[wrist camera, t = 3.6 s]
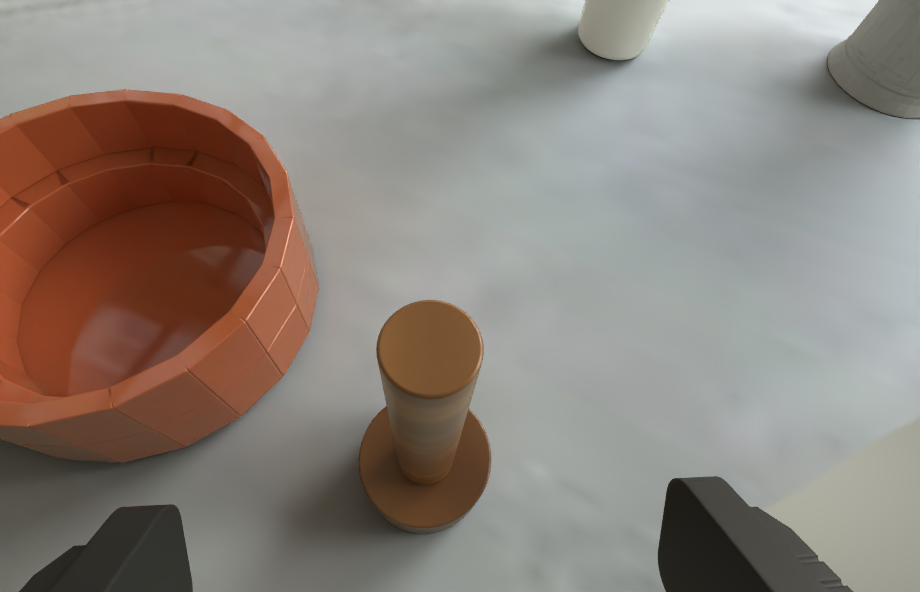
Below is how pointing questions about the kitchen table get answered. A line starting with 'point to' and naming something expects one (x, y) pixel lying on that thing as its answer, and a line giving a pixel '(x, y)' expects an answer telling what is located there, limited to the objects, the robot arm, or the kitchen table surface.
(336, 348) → the kitchen table surface
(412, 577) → the kitchen table surface
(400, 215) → the kitchen table surface
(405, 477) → the wooden knob stand
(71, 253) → the bowl
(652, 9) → the drinking glass
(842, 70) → the pitcher
